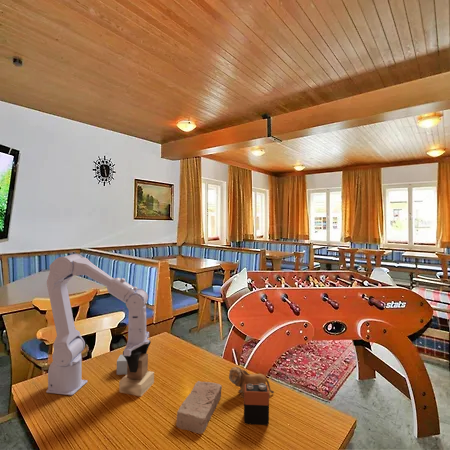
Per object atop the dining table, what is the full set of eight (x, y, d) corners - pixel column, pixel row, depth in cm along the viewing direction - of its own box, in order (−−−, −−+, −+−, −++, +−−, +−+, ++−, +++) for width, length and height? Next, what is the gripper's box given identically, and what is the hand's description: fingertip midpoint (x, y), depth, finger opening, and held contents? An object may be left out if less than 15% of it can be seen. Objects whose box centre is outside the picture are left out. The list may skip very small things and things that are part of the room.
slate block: (116, 374, 103) (116, 361, 103) (120, 367, 108) (120, 354, 108) (130, 374, 104) (131, 360, 104) (133, 367, 109) (133, 354, 109)
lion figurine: (229, 401, 89) (229, 372, 89) (228, 390, 94) (228, 363, 94) (275, 398, 90) (276, 370, 90) (271, 388, 96) (272, 362, 95)
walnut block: (127, 377, 93) (127, 359, 93) (133, 369, 98) (133, 352, 98) (141, 379, 93) (142, 360, 93) (147, 371, 98) (147, 353, 98)
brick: (203, 435, 75) (204, 417, 75) (174, 428, 78) (174, 411, 77) (222, 398, 91) (222, 383, 91) (197, 393, 93) (197, 379, 93)
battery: (269, 426, 78) (269, 390, 78) (244, 424, 79) (244, 389, 79) (267, 415, 83) (267, 381, 83) (243, 414, 83) (244, 380, 83)
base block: (119, 393, 93) (119, 380, 93) (133, 379, 101) (133, 368, 101) (141, 397, 91) (141, 384, 91) (154, 383, 99) (154, 371, 98)
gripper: (138, 336, 88) (138, 380, 88) (157, 320, 102) (157, 357, 102) (117, 335, 89) (117, 378, 89) (138, 318, 103) (138, 356, 103)
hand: (137, 367), depth 96 cm, fingers closed on walnut block, 5 cm apart
